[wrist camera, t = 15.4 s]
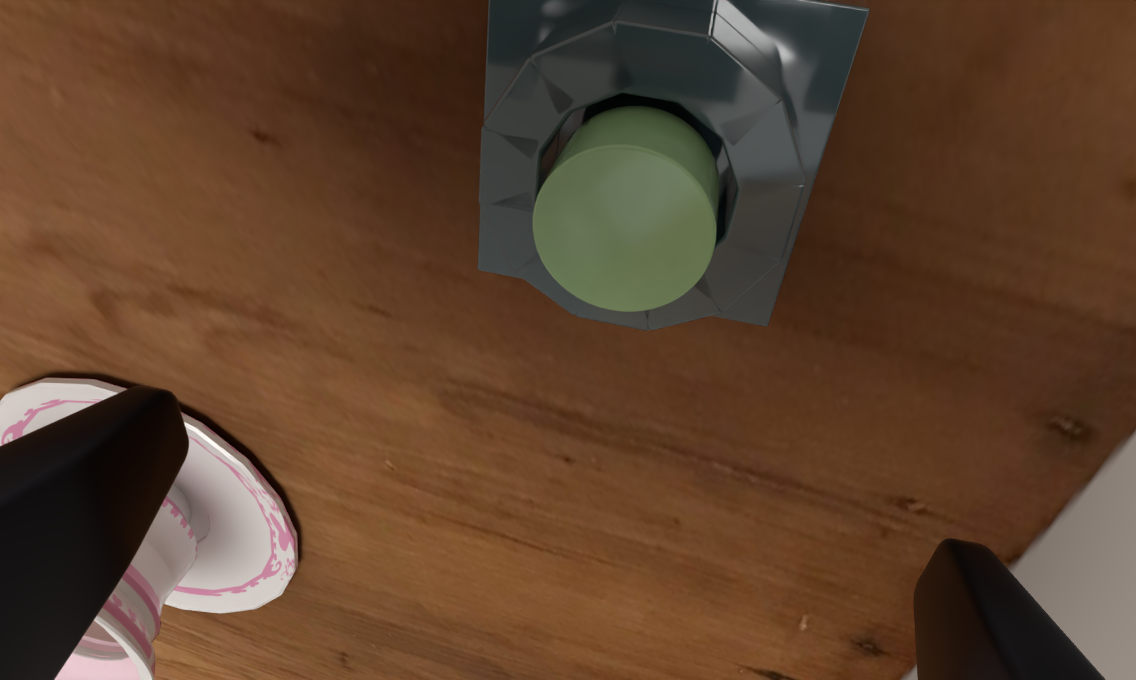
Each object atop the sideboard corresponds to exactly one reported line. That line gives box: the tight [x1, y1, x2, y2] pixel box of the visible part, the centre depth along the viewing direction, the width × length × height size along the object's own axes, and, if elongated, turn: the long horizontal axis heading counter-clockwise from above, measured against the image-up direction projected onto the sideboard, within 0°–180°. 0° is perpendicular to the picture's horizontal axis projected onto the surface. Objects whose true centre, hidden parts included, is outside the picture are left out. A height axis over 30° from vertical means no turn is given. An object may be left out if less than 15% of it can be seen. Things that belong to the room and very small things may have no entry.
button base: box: [478, 0, 870, 331], centre depth 16 cm, size 7×7×3 cm
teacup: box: [0, 377, 298, 680], centre depth 26 cm, size 12×12×6 cm
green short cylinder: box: [532, 106, 720, 312], centre depth 14 cm, size 3×3×2 cm
